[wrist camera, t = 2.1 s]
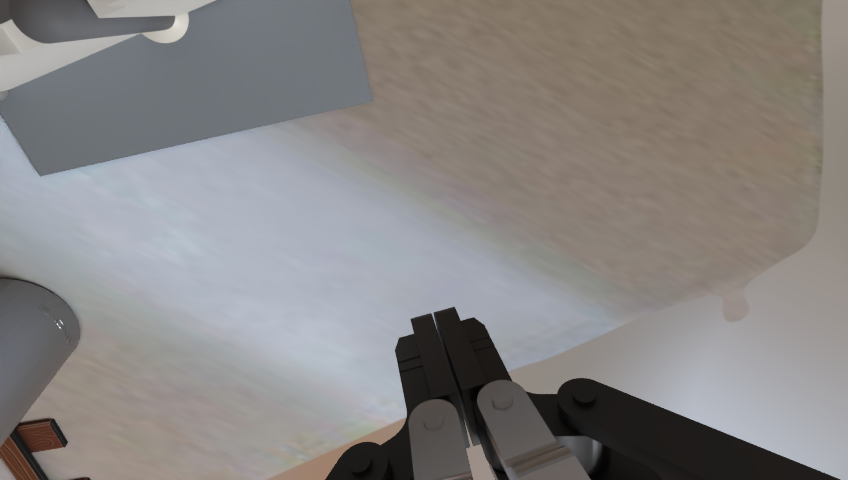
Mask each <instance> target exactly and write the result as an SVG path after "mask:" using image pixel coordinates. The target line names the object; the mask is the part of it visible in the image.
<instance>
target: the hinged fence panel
mask: <svg viewBox="0 0 848 480" xmlns="http://www.w3.org/2000/svg"><path fill="white" fill-rule="evenodd" d="M87 1H88V3H89V4H90V6H91V7H92V9H93V10H94V12H95V13H96V15H97V16H98V18H118V17H148V16H179V15H183V14H185V13H188V12H190V11H192V10H195V9H197V8H199V7H202V6H204V5H206V4H209V3H211V2H213V1H216V0H87Z"/></svg>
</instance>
